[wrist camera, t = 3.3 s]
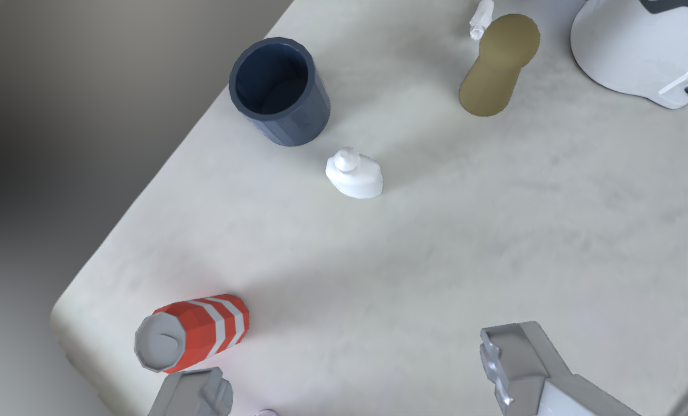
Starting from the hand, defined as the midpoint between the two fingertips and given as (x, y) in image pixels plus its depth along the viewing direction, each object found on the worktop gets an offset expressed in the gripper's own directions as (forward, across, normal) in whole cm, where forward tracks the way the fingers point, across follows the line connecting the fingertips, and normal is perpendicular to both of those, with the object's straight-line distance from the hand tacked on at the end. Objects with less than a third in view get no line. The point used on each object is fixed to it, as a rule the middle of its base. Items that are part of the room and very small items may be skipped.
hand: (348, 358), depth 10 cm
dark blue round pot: (+39, +6, +1) cm, 39 cm away
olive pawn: (+35, -18, +3) cm, 39 cm away
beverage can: (+22, +18, +21) cm, 36 cm away
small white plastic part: (+41, -20, -4) cm, 46 cm away
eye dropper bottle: (+30, -1, +10) cm, 32 cm away
